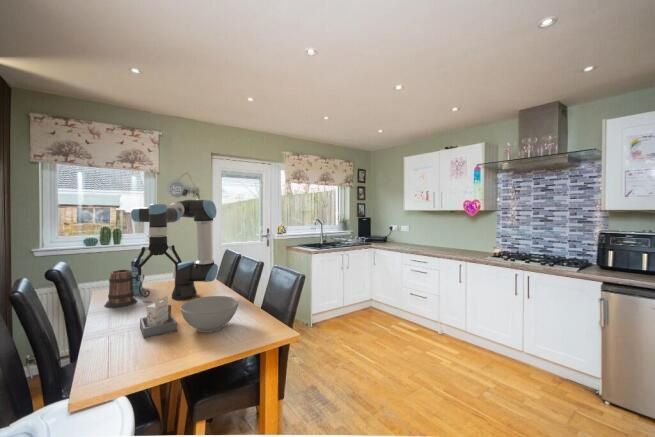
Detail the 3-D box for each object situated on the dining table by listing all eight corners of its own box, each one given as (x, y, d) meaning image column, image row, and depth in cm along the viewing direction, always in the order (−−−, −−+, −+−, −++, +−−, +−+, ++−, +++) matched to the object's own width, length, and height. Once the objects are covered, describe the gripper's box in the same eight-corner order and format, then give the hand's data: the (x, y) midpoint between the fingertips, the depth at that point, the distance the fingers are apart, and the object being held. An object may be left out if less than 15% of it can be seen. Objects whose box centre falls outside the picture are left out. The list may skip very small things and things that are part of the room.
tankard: (101, 309, 168) (101, 275, 168) (106, 301, 183) (106, 269, 182) (149, 304, 180) (149, 271, 179) (150, 296, 195) (150, 266, 194)
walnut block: (165, 316, 160) (165, 302, 159) (171, 320, 155) (171, 305, 155) (155, 319, 156) (155, 304, 155) (161, 322, 151) (161, 307, 151)
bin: (170, 321, 153) (170, 312, 153) (176, 331, 141) (176, 322, 141) (140, 327, 145) (140, 318, 145) (143, 338, 133) (143, 328, 133)
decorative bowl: (181, 321, 153) (182, 298, 153) (235, 315, 164) (235, 293, 163) (178, 343, 128) (178, 316, 128) (241, 334, 139) (241, 309, 139)
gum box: (135, 288, 214) (134, 257, 213) (143, 287, 216) (143, 256, 216) (130, 295, 197) (130, 261, 196) (139, 294, 199) (139, 261, 198)
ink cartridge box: (160, 323, 148) (160, 294, 147) (168, 324, 147) (168, 295, 146) (146, 330, 139) (146, 300, 139) (155, 331, 138) (155, 300, 138)
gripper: (127, 238, 131) (128, 284, 132) (188, 235, 146) (188, 277, 147) (126, 236, 137) (126, 281, 138) (184, 234, 152) (184, 274, 153)
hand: (158, 279), depth 143 cm, fingers open, 13 cm apart
